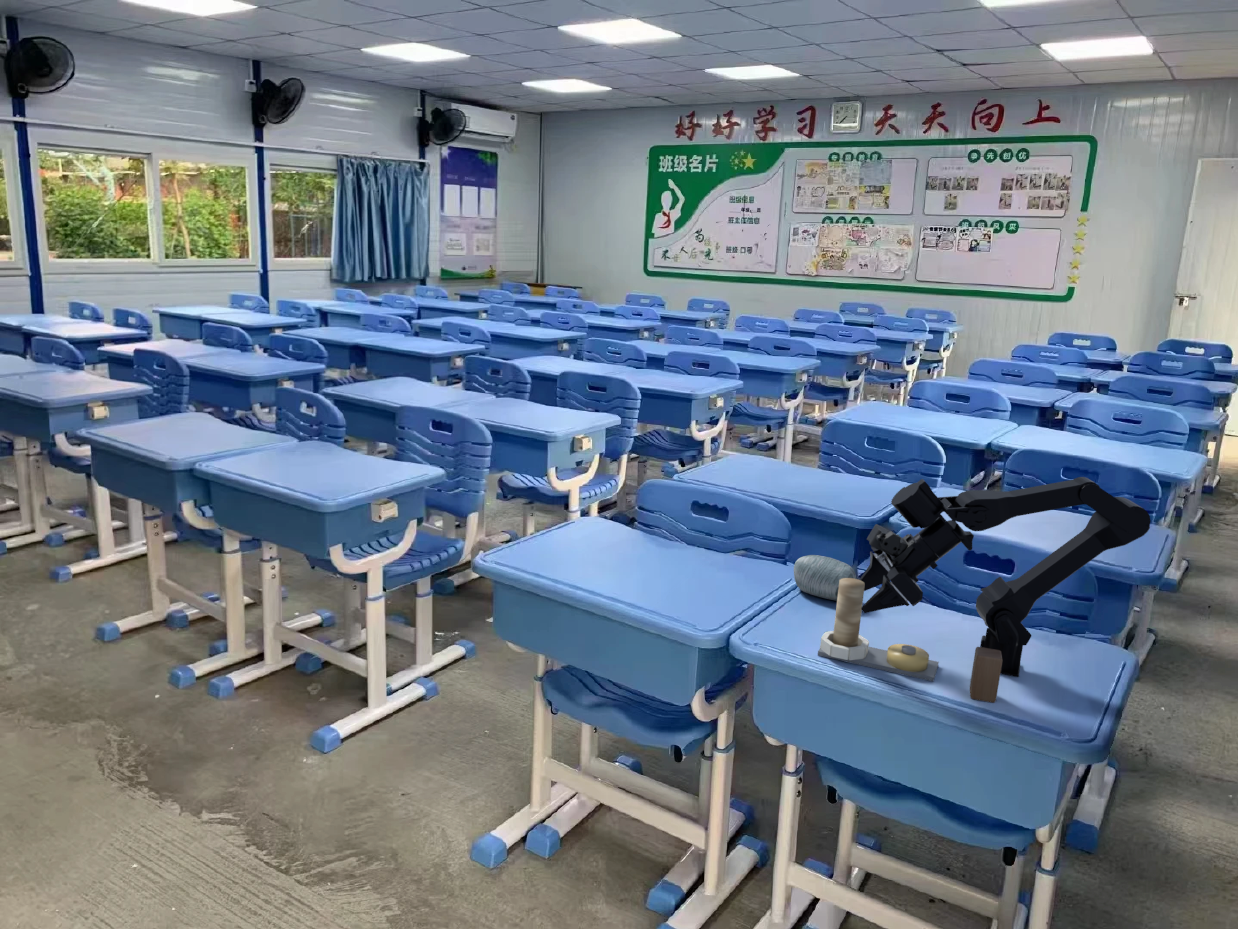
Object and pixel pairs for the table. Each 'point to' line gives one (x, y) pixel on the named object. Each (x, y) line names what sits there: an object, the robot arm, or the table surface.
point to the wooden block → (985, 674)
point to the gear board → (882, 657)
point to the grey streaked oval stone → (821, 575)
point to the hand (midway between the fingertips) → (858, 601)
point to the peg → (848, 612)
